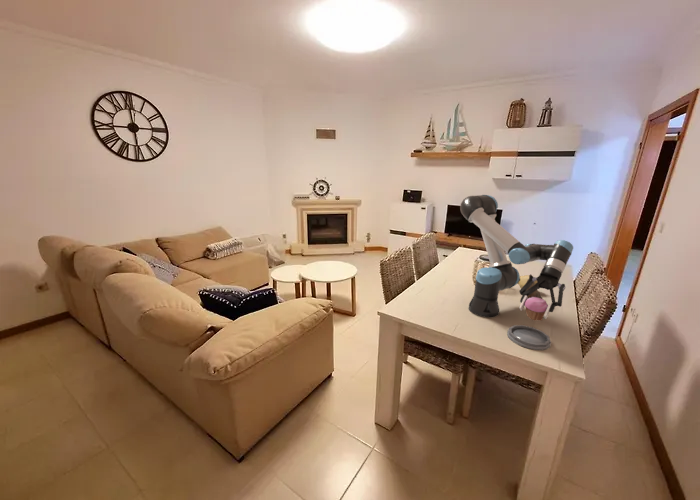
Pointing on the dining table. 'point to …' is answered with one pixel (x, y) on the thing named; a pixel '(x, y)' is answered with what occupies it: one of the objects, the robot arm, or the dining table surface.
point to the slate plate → (529, 337)
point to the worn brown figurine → (535, 293)
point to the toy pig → (524, 280)
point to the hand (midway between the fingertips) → (532, 313)
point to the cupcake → (535, 308)
